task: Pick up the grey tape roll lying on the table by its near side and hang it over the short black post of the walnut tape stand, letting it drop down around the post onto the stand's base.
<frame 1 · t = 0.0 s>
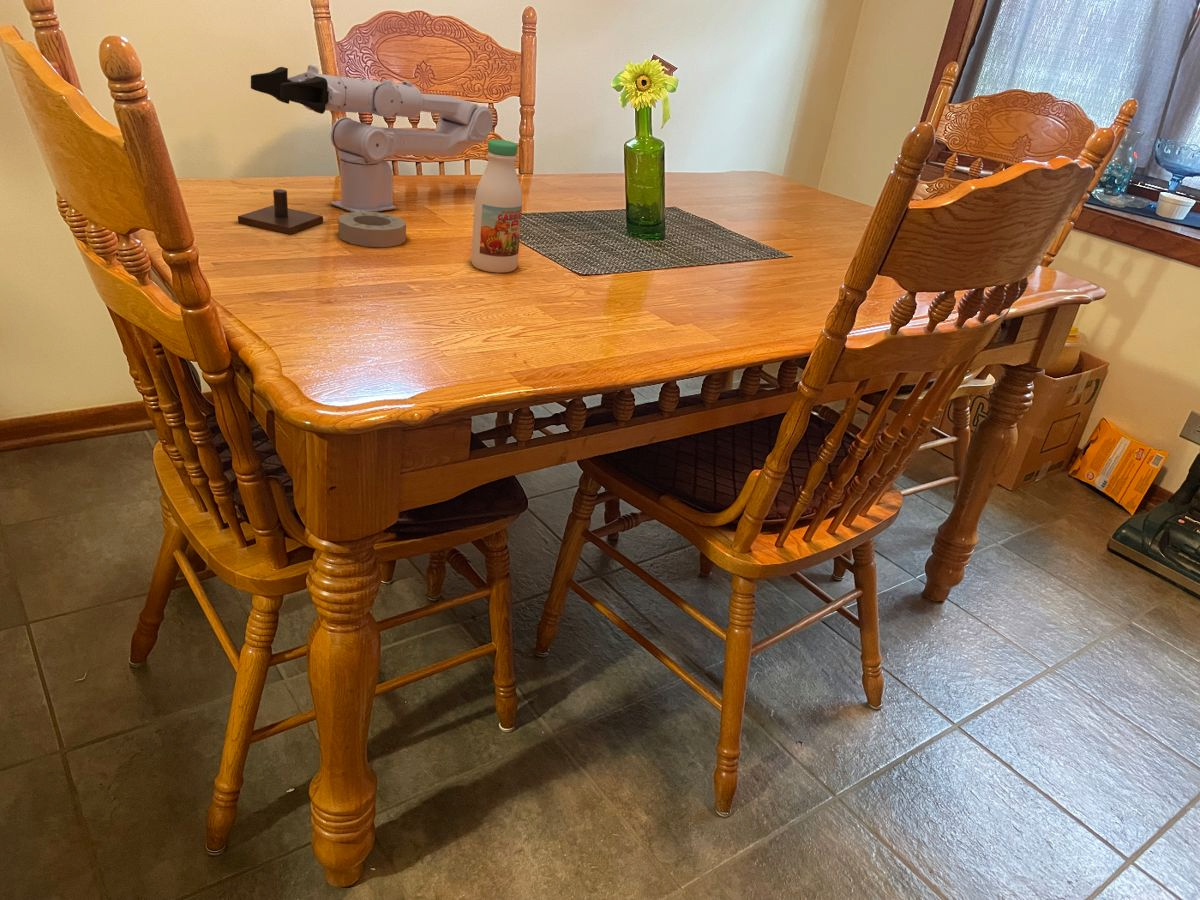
hand: (266, 86, 134), 22 cm above the table, tool horizontal, fingers open, 7 cm apart
milk bottle: (493, 267, 138), on the table
tape roll: (372, 237, 143), on the table
tape stand: (281, 222, 143), on the table
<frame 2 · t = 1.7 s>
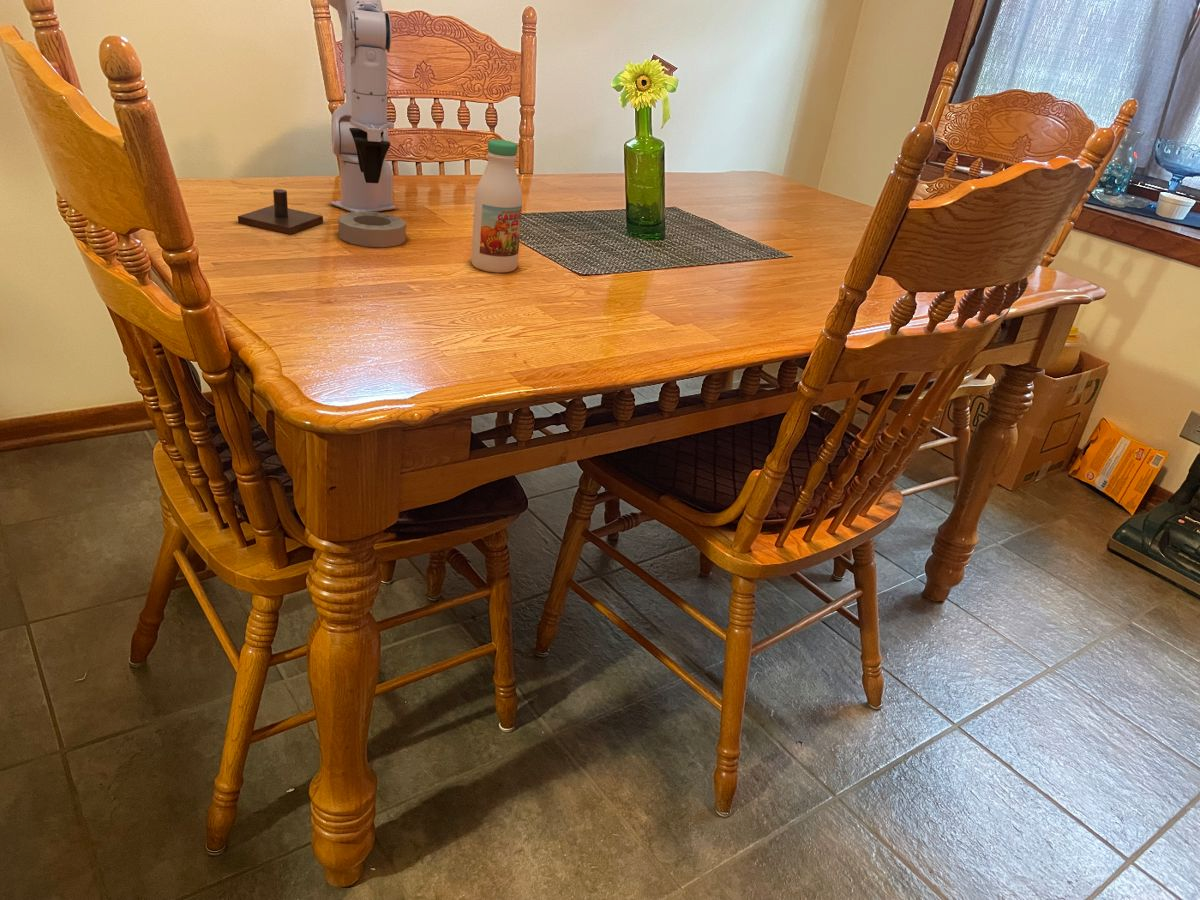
hand: (369, 177, 142), 9 cm above the table, tool pointing down, fingers open, 7 cm apart
nothing on the table moved.
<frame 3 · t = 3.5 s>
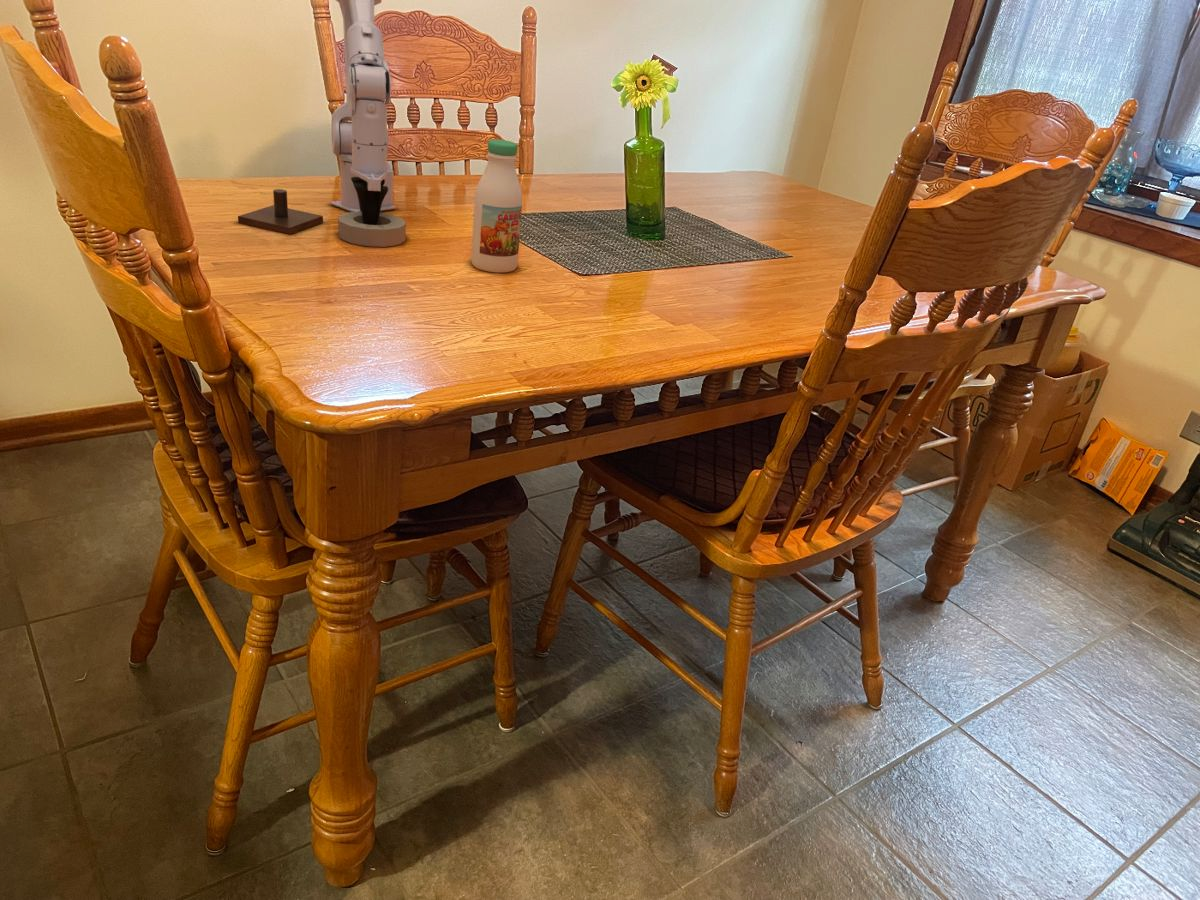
hand: (369, 222, 146), 1 cm above the table, tool pointing down, fingers closed on tape roll, 3 cm apart
tape roll: (372, 237, 143), on the table, touching gripper
everything else where it was.
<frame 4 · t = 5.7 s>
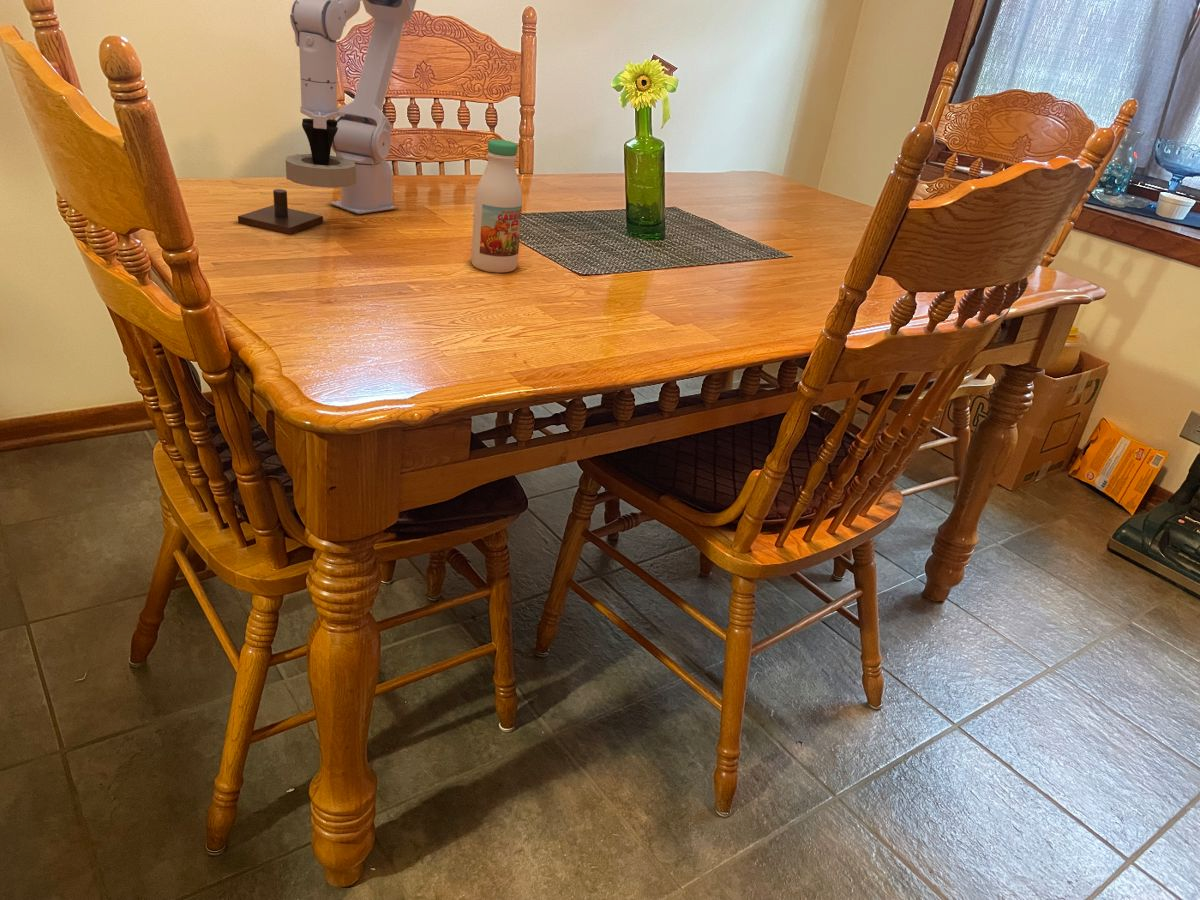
hand: (321, 165, 142), 10 cm above the table, tool pointing down, fingers closed on tape roll, 2 cm apart
tape roll: (321, 179, 139), point 9 cm above the table, touching gripper
everything else where it was.
when the fingers open (6 cm above the table, at t = 7.8 s): tape roll drops 4 cm, resting on tape stand.
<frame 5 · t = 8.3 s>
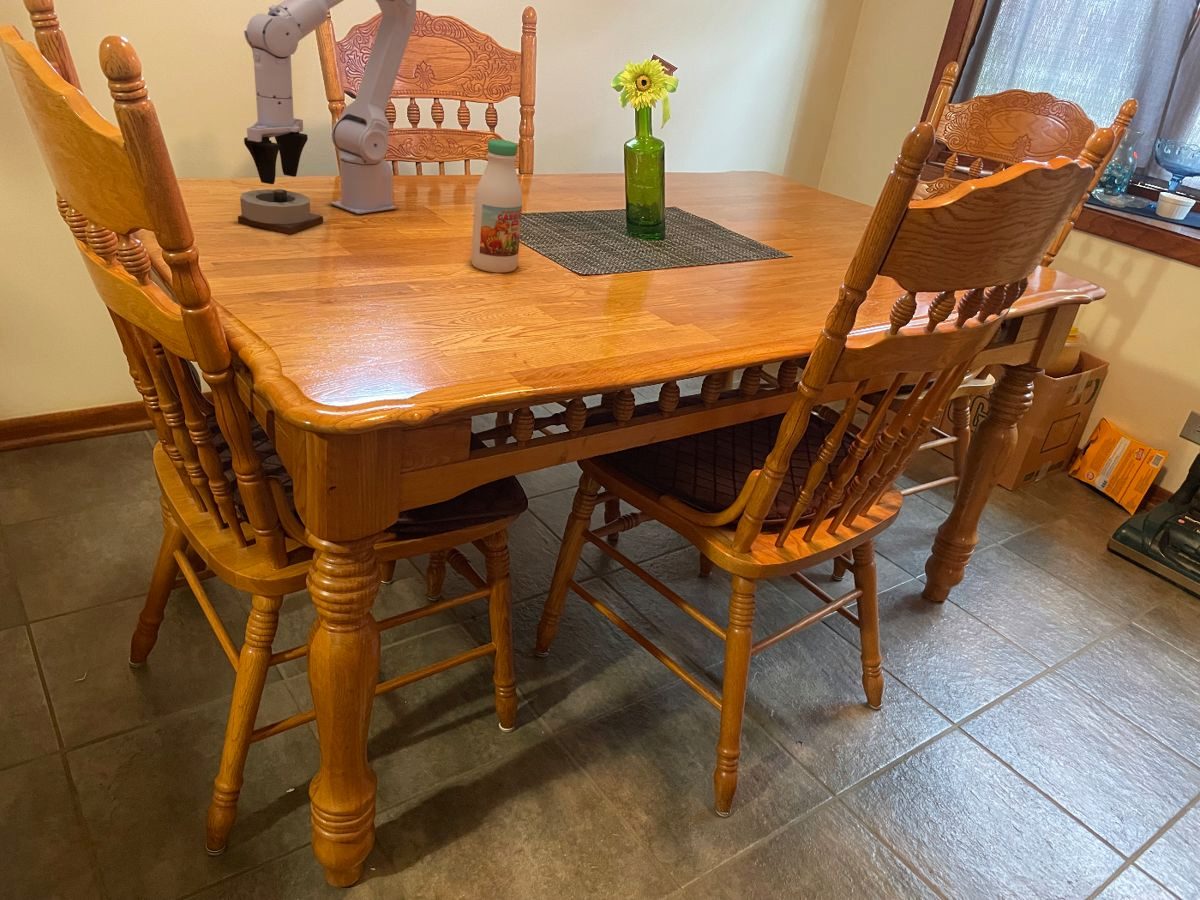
hand: (279, 179, 144), 6 cm above the table, tool pointing down, fingers open, 7 cm apart
tape roll: (276, 215, 143), point 1 cm above the table, touching tape stand
everything else where it was.
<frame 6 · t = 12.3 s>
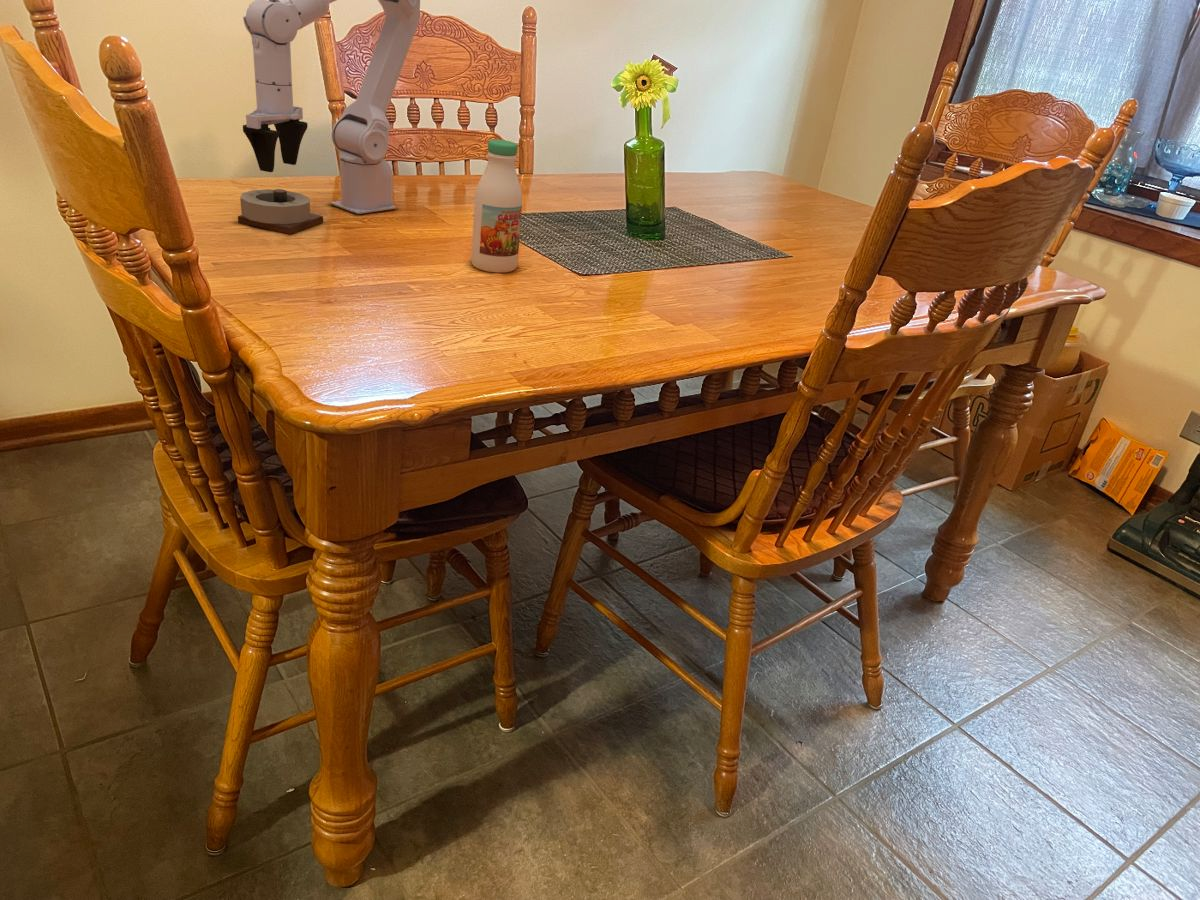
hand: (278, 167, 143), 8 cm above the table, tool pointing down, fingers open, 7 cm apart
nothing on the table moved.
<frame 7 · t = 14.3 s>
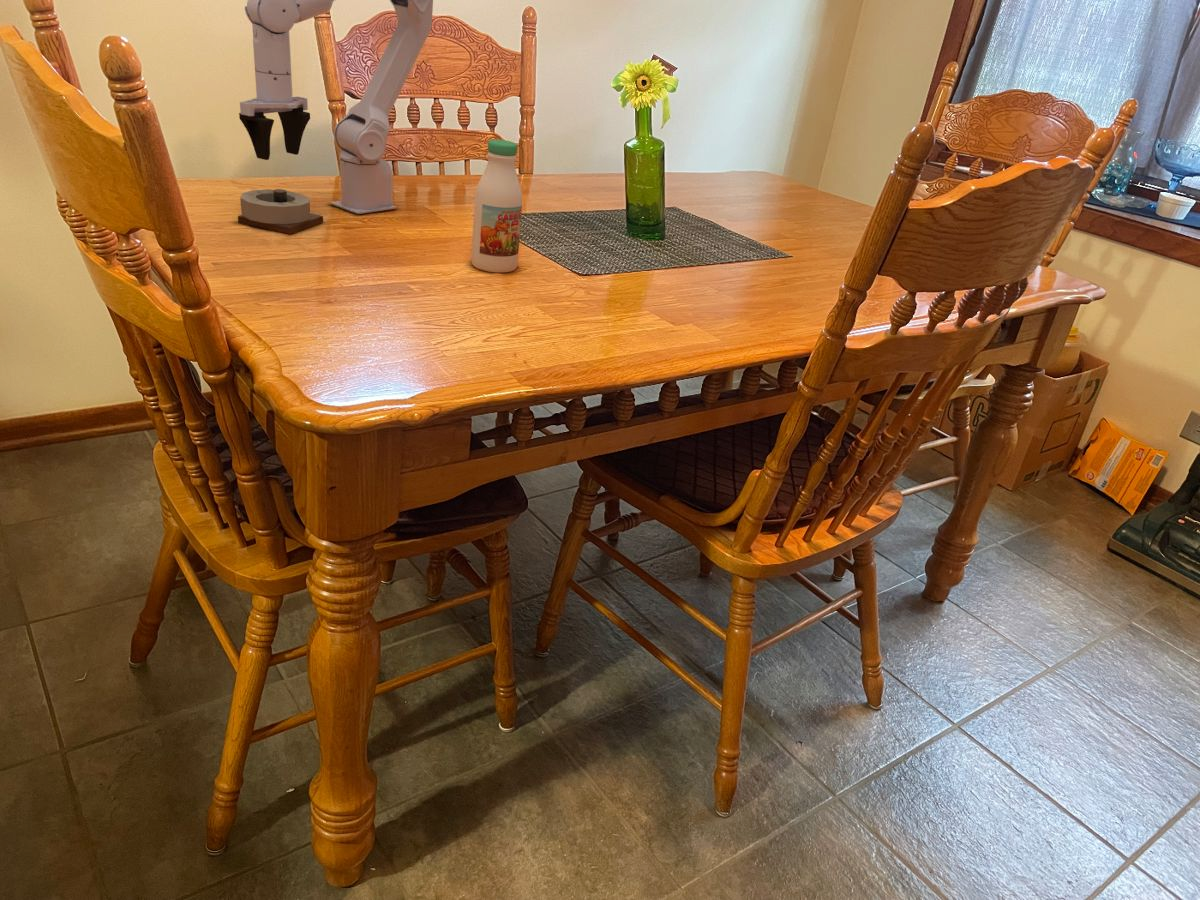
hand: (278, 156, 145), 10 cm above the table, tool pointing down, fingers open, 7 cm apart
nothing on the table moved.
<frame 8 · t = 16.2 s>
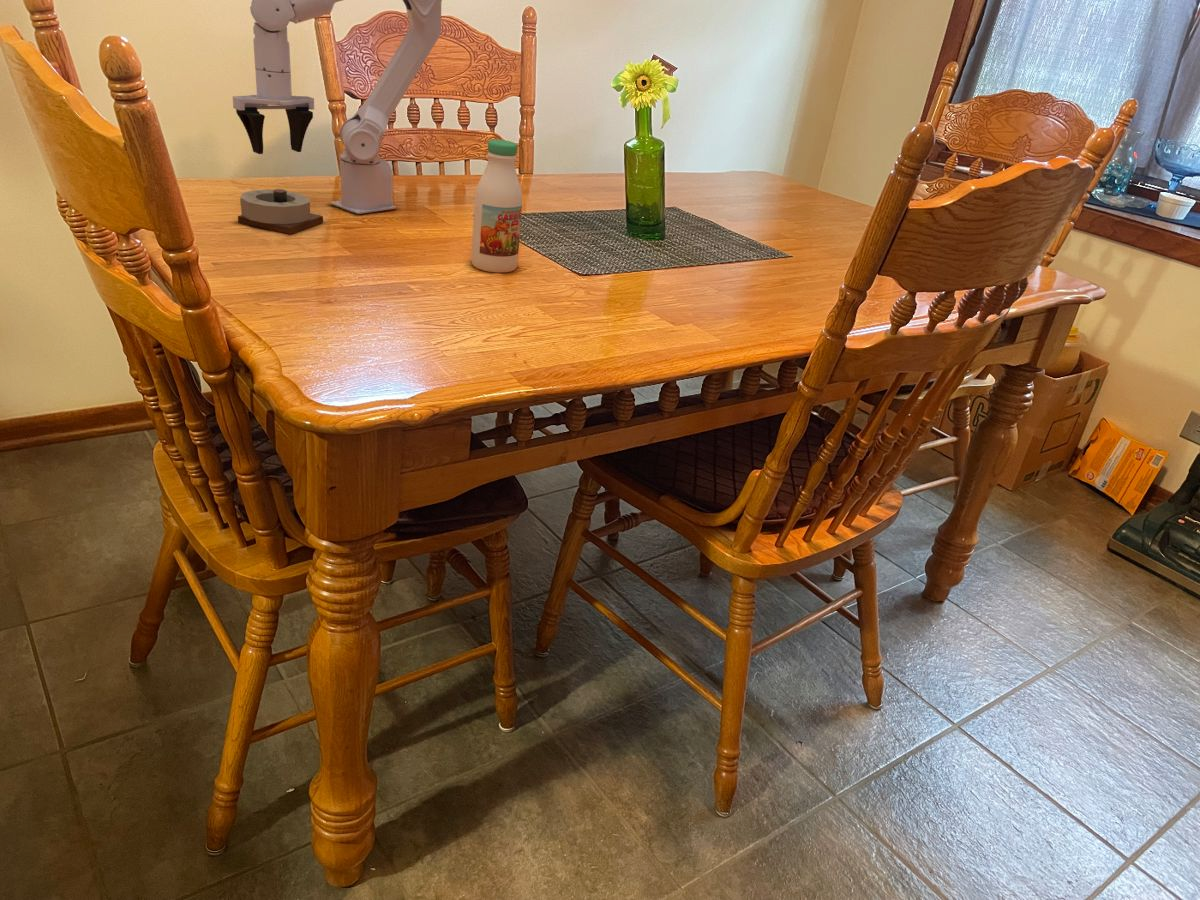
hand: (277, 151, 149), 9 cm above the table, tool pointing down, fingers open, 7 cm apart
nothing on the table moved.
at the end: tape roll 0.9 cm from the tape stand (horizontally); tape roll point 1.2 cm above the table; tape roll tilted 0° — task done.
